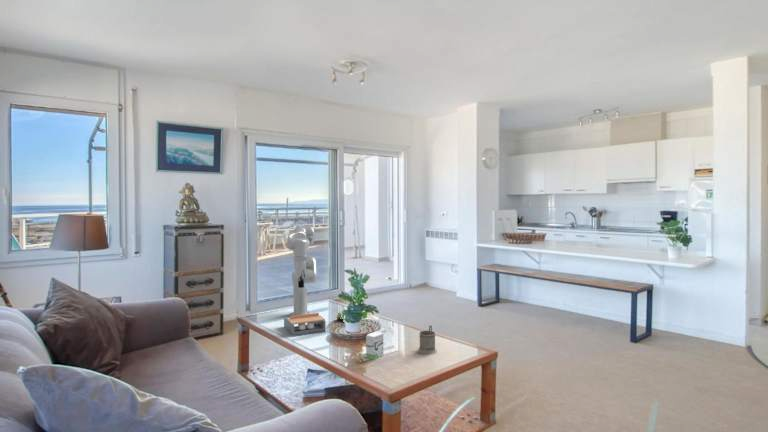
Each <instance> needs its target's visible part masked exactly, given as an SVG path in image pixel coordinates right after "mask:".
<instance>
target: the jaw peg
mask: <svg viewBox="0 0 768 432" xmlns="http://www.w3.org/2000/svg"><path fill="white" fill-rule="evenodd" d="M305 325H306V323H301V324H297V326H298V331H305V330H306V328H305Z"/></svg>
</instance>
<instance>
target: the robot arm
mask: <svg viewBox="0 0 768 432" xmlns="http://www.w3.org/2000/svg"><path fill="white" fill-rule="evenodd" d="M315 236H316V234H315V228H314V227H313V226H312V225H299V226H298V225H297V226H296V227H295V228H294V229H293V233H292V234H289V235H288V236H287V239H286V247H287V248H288V250H291V251H292V253H293V267H294V271H293V272H292V274H291V280H292V290H293V292H292V294H293V301H292V302H293V312H291V315H290V316H295V315H303V314H311V313H310V311H308V288H307V287H306V286H305V285H306V284H314V283H316V282H317V281H318V270H317V269H318V268H317V266H318V265H317V259H316V257H315V256H311V255H310V256H307V254H308V252H307V251H308V250H307V249H308V248H309V247H310V245H313V244H314V242H315Z"/></svg>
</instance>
